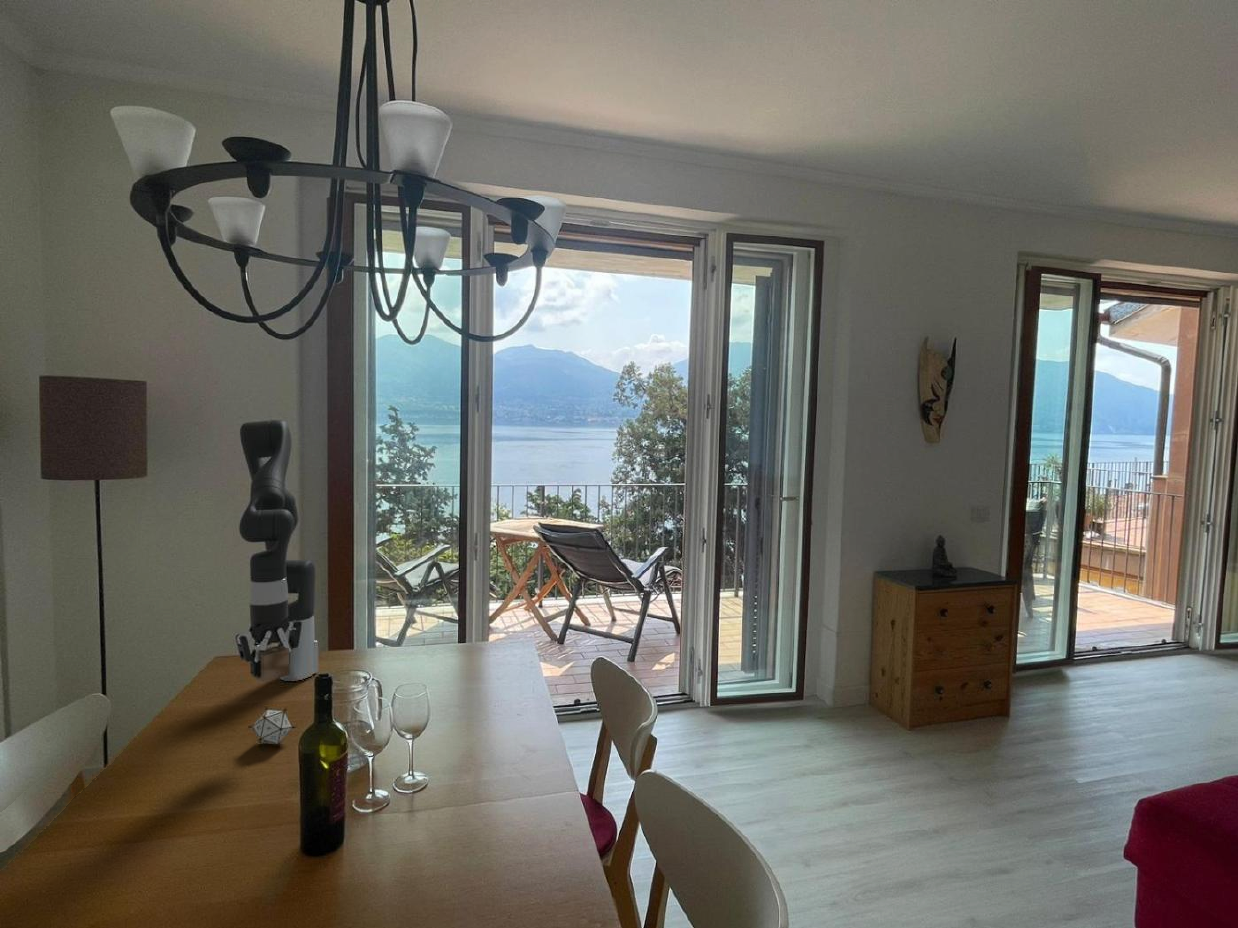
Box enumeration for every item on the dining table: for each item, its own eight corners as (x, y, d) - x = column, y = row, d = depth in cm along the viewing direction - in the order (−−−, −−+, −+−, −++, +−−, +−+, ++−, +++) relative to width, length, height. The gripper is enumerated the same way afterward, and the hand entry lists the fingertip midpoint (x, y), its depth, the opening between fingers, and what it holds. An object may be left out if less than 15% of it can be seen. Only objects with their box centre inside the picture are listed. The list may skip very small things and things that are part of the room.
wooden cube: (276, 669, 151) (276, 643, 151) (289, 674, 148) (289, 648, 147) (252, 676, 146) (251, 650, 146) (265, 682, 143) (264, 655, 143)
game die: (271, 764, 147) (251, 743, 140) (254, 739, 151) (235, 718, 145) (308, 734, 152) (291, 713, 145) (290, 711, 156) (273, 690, 149)
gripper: (291, 589, 154) (292, 659, 155) (226, 603, 142) (228, 678, 143) (309, 594, 150) (310, 666, 151) (244, 609, 138) (246, 687, 139)
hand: (270, 672), depth 147 cm, fingers closed on wooden cube, 5 cm apart
